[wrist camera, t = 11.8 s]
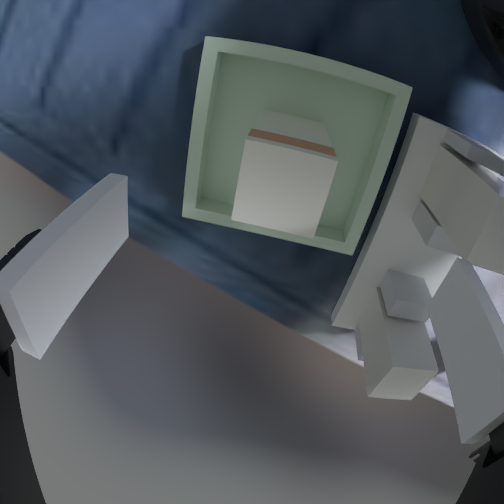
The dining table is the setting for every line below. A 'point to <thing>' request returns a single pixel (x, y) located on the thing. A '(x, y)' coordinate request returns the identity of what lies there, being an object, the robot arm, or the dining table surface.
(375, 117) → the tray
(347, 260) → the dining table surface
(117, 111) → the dining table surface
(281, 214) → the block
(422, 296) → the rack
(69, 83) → the dining table surface
